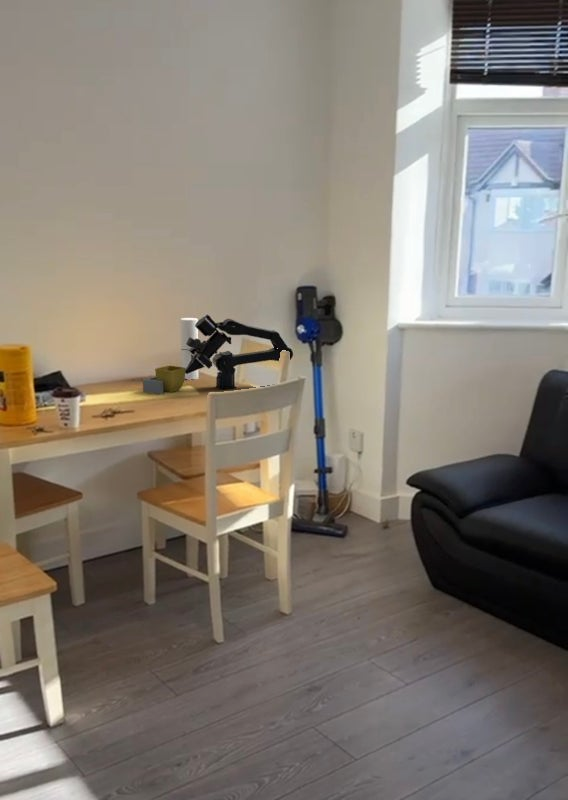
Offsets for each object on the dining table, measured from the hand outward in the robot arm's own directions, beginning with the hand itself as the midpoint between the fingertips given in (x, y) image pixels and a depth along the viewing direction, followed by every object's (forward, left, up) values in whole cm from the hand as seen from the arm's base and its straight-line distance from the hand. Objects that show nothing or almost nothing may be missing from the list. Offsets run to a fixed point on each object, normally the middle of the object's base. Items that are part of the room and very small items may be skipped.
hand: (185, 373), depth 302 cm
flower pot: (+6, -2, -7) cm, 9 cm away
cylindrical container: (-12, -19, -7) cm, 24 cm away
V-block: (+13, -4, -7) cm, 15 cm away
